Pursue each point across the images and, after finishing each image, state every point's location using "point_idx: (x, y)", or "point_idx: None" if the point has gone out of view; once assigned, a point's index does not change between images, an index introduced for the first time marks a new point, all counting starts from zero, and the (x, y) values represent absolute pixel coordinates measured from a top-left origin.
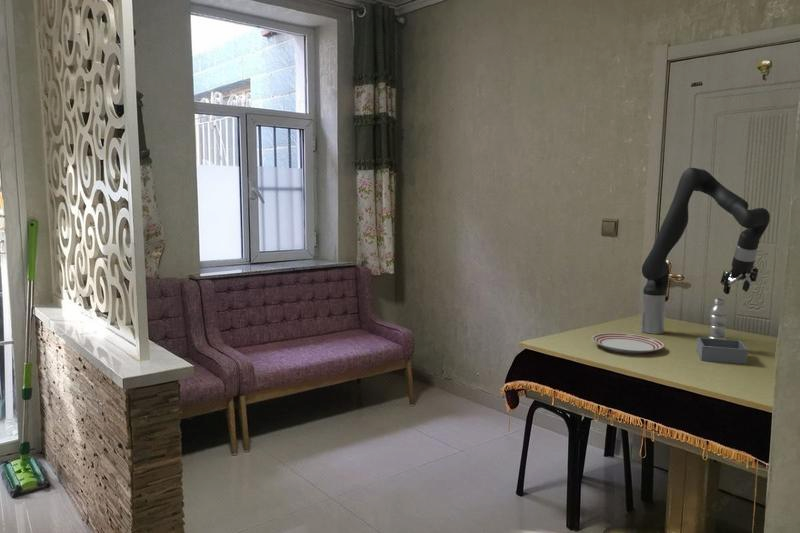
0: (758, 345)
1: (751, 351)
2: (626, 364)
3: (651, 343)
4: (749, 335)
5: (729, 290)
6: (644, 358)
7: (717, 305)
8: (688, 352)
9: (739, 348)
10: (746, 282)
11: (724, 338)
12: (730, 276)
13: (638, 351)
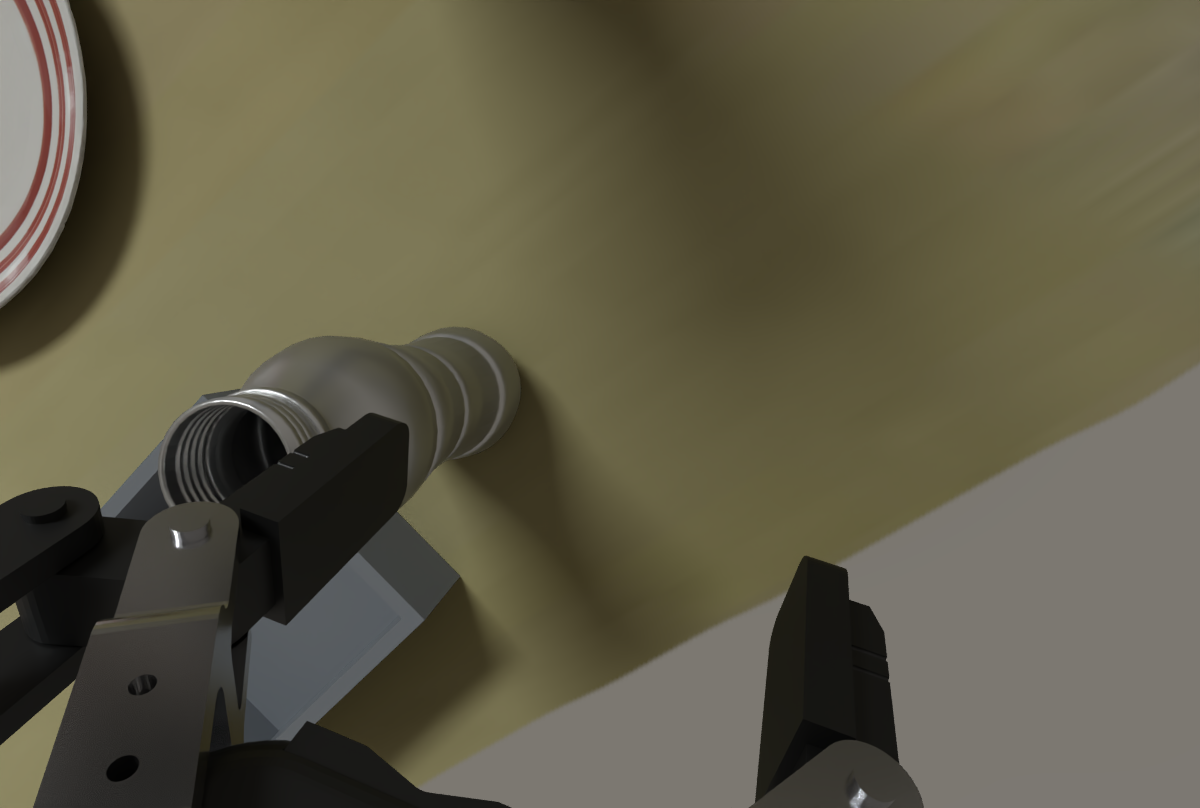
0: (836, 481)
1: (611, 565)
2: None
3: (54, 140)
4: (1141, 216)
5: (342, 558)
6: None
7: (228, 468)
8: (190, 385)
9: (382, 634)
10: (792, 773)
11: (454, 458)
12: (120, 725)
13: None
